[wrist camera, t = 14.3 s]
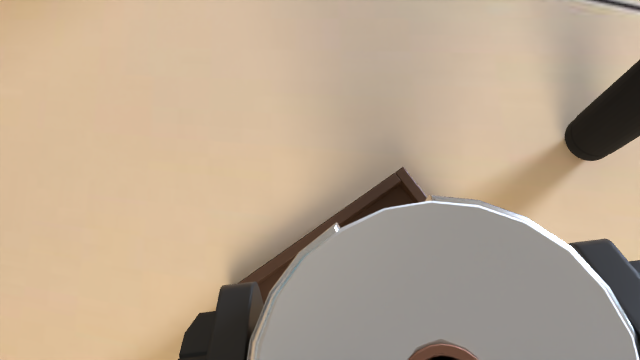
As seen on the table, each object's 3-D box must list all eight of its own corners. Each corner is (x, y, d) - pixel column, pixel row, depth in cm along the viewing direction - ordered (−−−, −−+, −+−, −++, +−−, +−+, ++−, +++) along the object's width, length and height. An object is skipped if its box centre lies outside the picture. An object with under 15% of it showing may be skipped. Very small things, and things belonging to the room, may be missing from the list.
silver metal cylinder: (319, 371, 31) (164, 591, 7) (344, 266, 32) (290, 139, 8) (426, 401, 30) (680, 774, 6) (447, 291, 32) (722, 234, 7)
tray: (401, 173, 41) (403, 166, 39) (542, 355, 37) (552, 357, 35) (227, 295, 40) (220, 295, 38) (353, 497, 36) (353, 508, 34)
